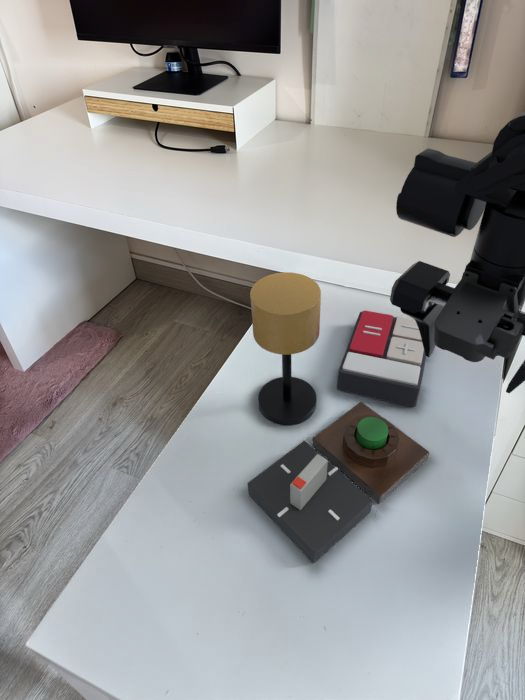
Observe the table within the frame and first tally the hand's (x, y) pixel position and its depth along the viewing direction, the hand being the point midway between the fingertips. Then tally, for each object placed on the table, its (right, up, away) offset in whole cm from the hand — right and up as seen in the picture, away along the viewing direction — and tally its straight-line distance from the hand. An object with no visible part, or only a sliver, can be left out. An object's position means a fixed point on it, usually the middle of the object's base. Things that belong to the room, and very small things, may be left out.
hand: (467, 371), depth 56 cm
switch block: (-9, -10, +7) cm, 16 cm away
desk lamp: (-19, -5, +14) cm, 24 cm away
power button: (-10, -8, +5) cm, 14 cm away
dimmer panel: (-18, -15, +2) cm, 23 cm away
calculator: (-5, 0, +19) cm, 19 cm away
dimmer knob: (-18, -13, +1) cm, 22 cm away
